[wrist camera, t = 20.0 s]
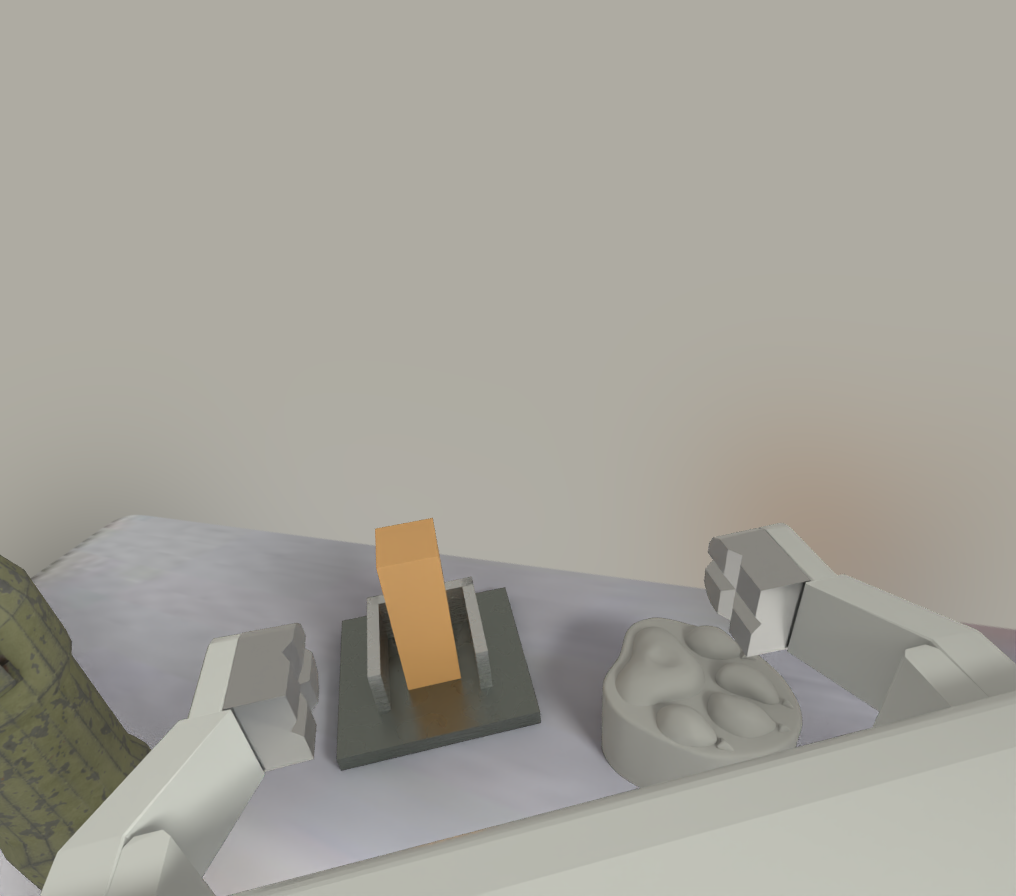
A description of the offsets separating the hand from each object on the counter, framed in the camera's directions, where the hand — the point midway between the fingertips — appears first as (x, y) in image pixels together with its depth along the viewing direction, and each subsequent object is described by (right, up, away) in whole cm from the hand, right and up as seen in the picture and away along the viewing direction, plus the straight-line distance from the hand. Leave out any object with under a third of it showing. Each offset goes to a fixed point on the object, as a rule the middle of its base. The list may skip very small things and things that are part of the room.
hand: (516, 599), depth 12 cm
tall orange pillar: (-7, -16, +40) cm, 44 cm away
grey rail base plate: (-7, -17, +41) cm, 45 cm away
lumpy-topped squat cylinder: (+14, -20, +34) cm, 42 cm away
